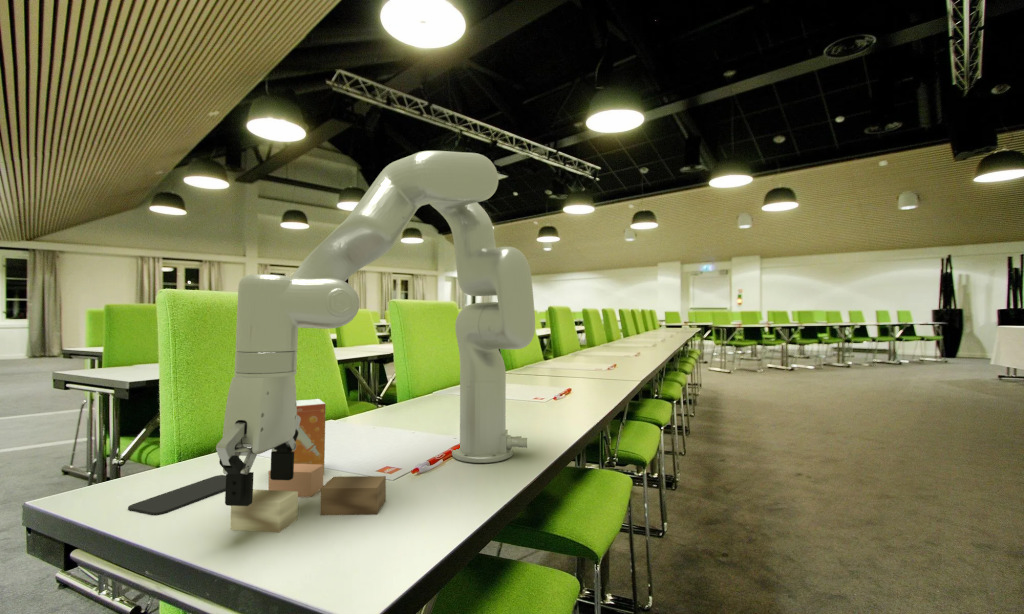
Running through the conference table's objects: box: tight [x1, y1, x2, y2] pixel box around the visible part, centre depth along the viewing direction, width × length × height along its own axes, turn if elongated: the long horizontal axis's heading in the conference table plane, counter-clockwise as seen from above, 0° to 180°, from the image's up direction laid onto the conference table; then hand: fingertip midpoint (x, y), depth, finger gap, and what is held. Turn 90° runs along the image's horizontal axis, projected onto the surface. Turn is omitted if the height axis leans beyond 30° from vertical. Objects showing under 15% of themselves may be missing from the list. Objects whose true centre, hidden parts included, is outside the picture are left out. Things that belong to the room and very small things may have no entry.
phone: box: [127, 474, 226, 516], centre depth 73 cm, size 7×1×15 cm
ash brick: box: [230, 488, 299, 533], centre depth 62 cm, size 7×4×4 cm, turn 83°
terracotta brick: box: [267, 464, 324, 498], centre depth 74 cm, size 7×4×4 cm, turn 85°
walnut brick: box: [319, 475, 387, 516], centre depth 68 cm, size 8×5×4 cm, turn 91°
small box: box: [271, 398, 327, 476], centre depth 83 cm, size 8×6×13 cm
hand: (261, 491), depth 62 cm, fingers open, 9 cm apart
